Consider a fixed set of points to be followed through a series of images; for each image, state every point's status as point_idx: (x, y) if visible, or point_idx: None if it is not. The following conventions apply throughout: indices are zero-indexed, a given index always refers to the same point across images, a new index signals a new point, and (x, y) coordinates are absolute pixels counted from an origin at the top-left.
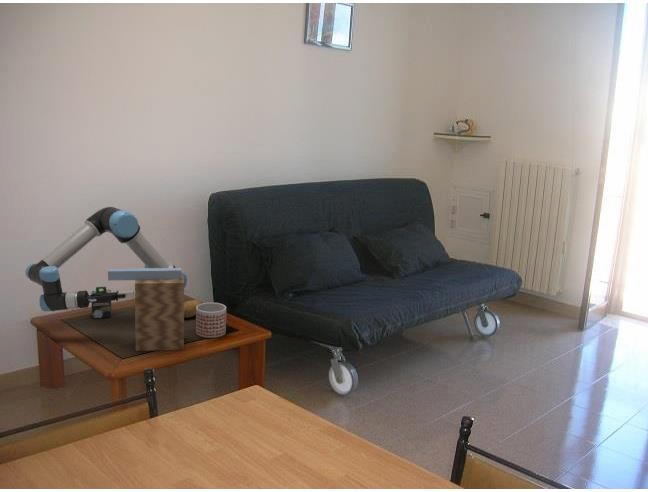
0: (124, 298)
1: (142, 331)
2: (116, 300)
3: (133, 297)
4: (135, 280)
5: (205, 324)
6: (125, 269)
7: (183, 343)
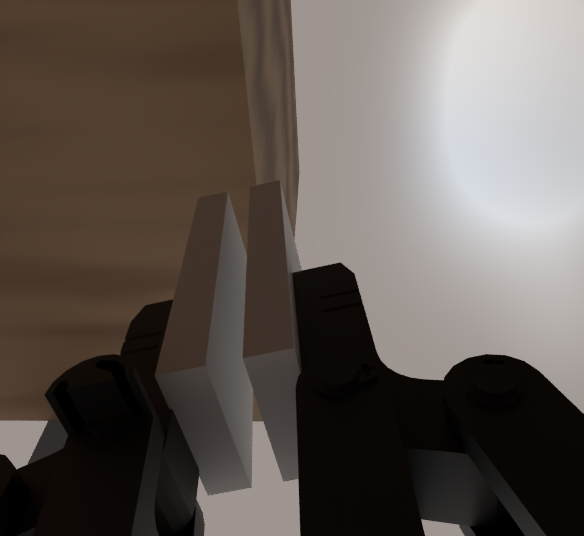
0: (182, 285)
1: None
2: (58, 408)
3: (202, 204)
4: (34, 419)
5: None
6: None
7: None
